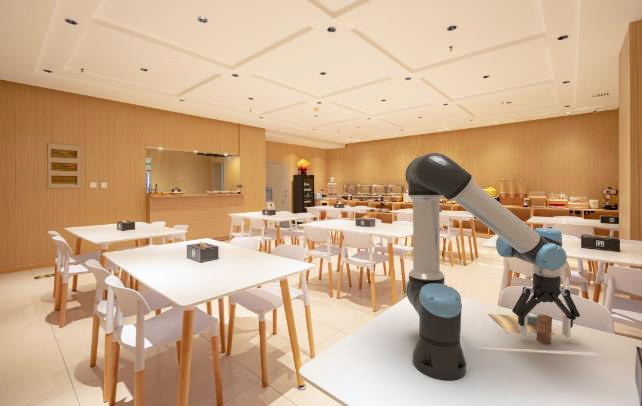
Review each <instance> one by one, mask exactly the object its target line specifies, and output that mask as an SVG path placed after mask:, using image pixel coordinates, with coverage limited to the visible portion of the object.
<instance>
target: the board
mask: <svg viewBox="0 0 642 406" xmlns="http://www.w3.org/2000/svg"><path fill="white" fill-rule="evenodd" d="M487 315H488V316H489V318H491V319H492V320H493V321H494V322H495V323H496V324H497V325H498V326H499V327H500V328H501V329H503V330H504V331H505V332H506V333H510V334H511V333H514V334H521V333H520V325H519V324H518V315H516V314H496V313H495V314H493V313H487ZM527 334H528V335H529V334H532V335H533V334H534V335H537V325H527ZM553 335H555V336H557V335H558V336H560V334H559V333H558V332H557V331H555V330H554V329H552V332H551V336H553Z"/></svg>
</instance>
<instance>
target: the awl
mask: <svg viewBox="0 0 642 406" xmlns="http://www.w3.org/2000/svg"><path fill="white" fill-rule="evenodd" d="M552 328H553V317H552V316H550V315H547V314H543V313H541V314H537V334H536V338H535V339H536V340H535V341H536V342H537V343H538V344H540V345H544V346H551V345H552V335H551V332H552V330H553V329H552Z"/></svg>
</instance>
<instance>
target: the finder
mask: <svg viewBox="0 0 642 406" xmlns="http://www.w3.org/2000/svg"><path fill="white" fill-rule="evenodd" d="M537 316H538V314H536V313H530V312H529V313H528V314H527V315H526V317H527V318H528V321H527V325H537Z"/></svg>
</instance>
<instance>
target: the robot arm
mask: <svg viewBox="0 0 642 406" xmlns="http://www.w3.org/2000/svg"><path fill="white" fill-rule="evenodd" d="M404 176H405V181H406V183H407V186H408V187H407V188H408V189H407V191H408V195H407V196H408V197H409V198H410V199H411V200H412V233H413V234H412V237H413V240H412V242H413V243H412V250H413V252H412V254H413V255H412V256H413V257H412V258H413V259H412V261H413V262H412V263H413V265H412V266H413V268H412V269H411V270H410V271H409V272H408V281H407V283H406V287H405V292H406V297H407V299H408V301H409V303H410V305H412V306H413V309H414V310H415V311H416V313H417V315H418V318H419V321H418V322H419V326H418V329H419V331H418V332H419V333H418V339H417V341H416V344H415V346H414V348H413V352H412V363H413V365H414V367H415V368H416V369H417V370H418V371H419V372H421V373H422V374H425V375H426V376H428V377H431V378H434V379H438V380H444V381H454V380H459V379H461V378H463V377H464V376H465V375H466V371H467V362H466V358H465V355H464V352H463V349H462V346H461V331H462V330H461V329H462V328H461V327H462V325H461V323H462V309H463V304H462V297H461V295H460V293H459V291H458V290H457V289H455V288H454V287H452V286H448V285H447V284H445V274H444V273H443V272H442V270H440V264H441V263H440V259H441V258H440V257H441V256H440V248H441V247H440V246H441V245H440V202H441V201H440V200H441V199H442V198H443V197H444V199H446V200H447V201H454V202H456V203H457V204H458V205H459V206H460V207H462V208H463V209H465V210H466V212H468V213H469V214H471V215H472V216H473V217H475V218H476V219H477V220H478V221H479V222H481V224H483V225H484V226H485V227H487V228H488V229H489V230H491V231H492V232H493V233H494V234H496V235H497V238H496V241H495V249H496V251H497V254H498V255H499V256H500V257H502V258H509V259H510V258H517V259H518V260H522V261H524V262H527V263H529V264H532V265H533V266H532V271H533V273H532V285H533V286H532V288H531V287H530V288H529V287H526V286H523V287H522V291H521V292H522V293H521V294H520V296H519V298H518V300H517V301H516V302H515V305H514V307H513V308H512V310H511V311H512V313H513V314H514V315H518V324H519V325H520V333H519V334H521V335H522V336H523V337H528V333H527V321H528V318H527V317H526V315H527V314H528V313H530V312H531V311H532V310H534V308H535V307H536V306H537V305H538V304H540V303H553V302H554V304H555V305H556V306H557V307H558V308H559V309H560V310H561V312H562V313H563V314H564V315H562V326H561V327H562V328H561V335H562V336H564V337H566V338H567V339H571V328H573V327H574V326H573V325H574V321H575V320H576V319H577V318H580V317H581V314H580V312H579V310H578V309H577V306H576V304H575V302H574V300H573V298H572V296H571V289H568V288H565V287H561V280H562V279H561V278H562V277H561V273H562V271H561V270H562V267H564V266H565V264H566V262H567V260H568V259H567V258H568V255H567V252H566V250H565V249H564V248H563V235H562V231H561V230H560V229H558V228H557V229H556V228H551V227H549V228H548V227H536V228H535V229H533V228H532V227H531V226H529V225H528V224H527V223H525V222H524V221H523V220H522V219H520V218H519V217H518V216H516V214H514V213H513V212H512V211H511V210H509V209H508V208H507V207H506V206H504V205H503V204H502V203H501V202H499V201H498V200H497V199H495V198H494V197H493V196H492V195H491V194H490V193H488V192H487V191H486V190H485V189H483V188H482V187H481V186H480V185H478V183H476V182H474V179H473V175H472V174H471V173H469V172H468V171H467V170H466V169H464V168H463V167H462V166H461V165H459V163H457V162H455V160H453V159H452V158H451V157H449V156H447V155H446V154H443V153H440V152H432V153H427V154H424V155H420V156H417V157H415V158H414V159H413V160H412V161H410V163H409V164H408V165H407V166H406V169H405V175H404ZM532 293H533V294H532ZM560 295H561V296H562V299H563V300H564V302H565V304H566V305H567V306H566V305H565V304H564V303H563V301H562V300H561V299H560V298H559V296H560Z"/></svg>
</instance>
